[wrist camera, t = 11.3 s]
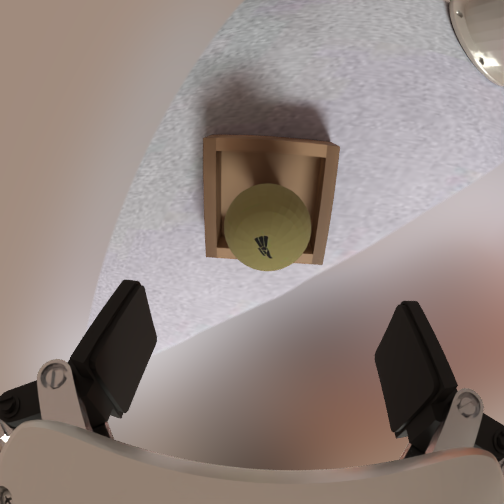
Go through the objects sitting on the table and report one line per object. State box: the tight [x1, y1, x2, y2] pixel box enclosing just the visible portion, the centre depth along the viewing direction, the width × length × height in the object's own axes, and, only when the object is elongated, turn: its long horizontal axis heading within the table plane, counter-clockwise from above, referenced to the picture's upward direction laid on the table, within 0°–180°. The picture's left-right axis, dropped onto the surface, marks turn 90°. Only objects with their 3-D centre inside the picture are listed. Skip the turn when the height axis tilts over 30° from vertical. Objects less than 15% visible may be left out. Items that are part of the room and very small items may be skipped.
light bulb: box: [224, 183, 311, 271], centre depth 20 cm, size 6×6×10 cm
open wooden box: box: [203, 135, 340, 265], centre depth 23 cm, size 10×10×4 cm
